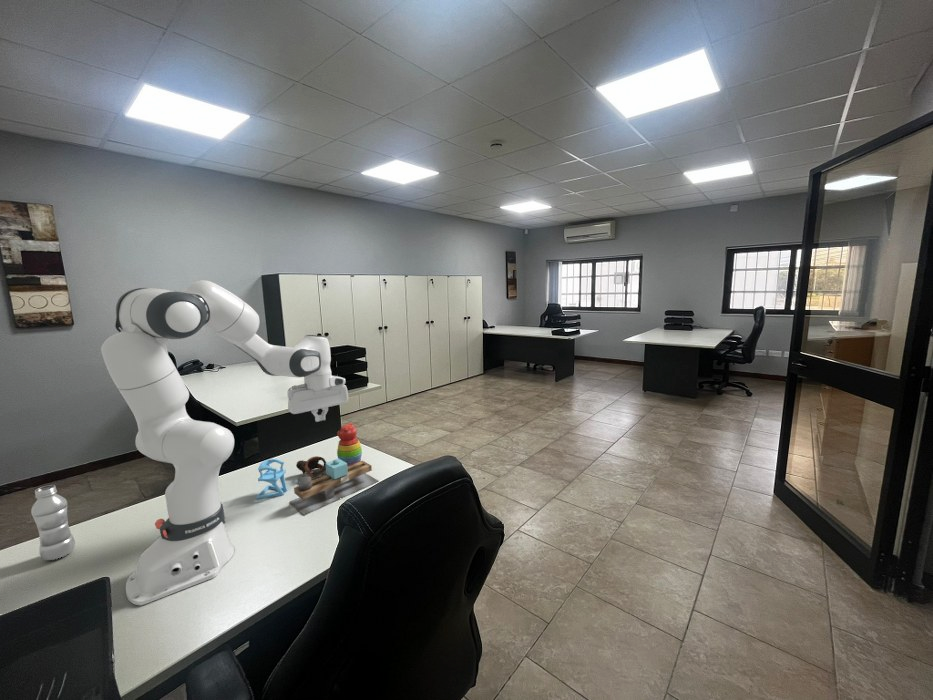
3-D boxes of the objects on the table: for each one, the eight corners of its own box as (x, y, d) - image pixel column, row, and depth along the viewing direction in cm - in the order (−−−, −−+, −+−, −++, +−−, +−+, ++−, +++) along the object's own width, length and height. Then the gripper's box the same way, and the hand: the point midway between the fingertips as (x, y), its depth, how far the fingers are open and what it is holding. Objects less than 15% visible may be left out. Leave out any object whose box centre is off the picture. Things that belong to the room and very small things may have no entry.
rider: (335, 485, 130) (333, 465, 129) (326, 479, 134) (325, 460, 133) (348, 479, 133) (347, 460, 132) (339, 474, 137) (338, 455, 136)
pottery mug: (330, 468, 152) (331, 455, 147) (322, 489, 145) (323, 476, 140) (299, 463, 151) (300, 450, 146) (290, 483, 143) (290, 470, 138)
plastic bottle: (50, 551, 105) (35, 485, 102) (82, 545, 108) (68, 480, 104) (35, 567, 99) (19, 497, 96) (69, 559, 102) (54, 491, 98)
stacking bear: (345, 460, 158) (342, 419, 155) (367, 462, 156) (364, 421, 153) (331, 472, 148) (327, 429, 145) (354, 474, 146) (351, 431, 143)
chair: (280, 499, 130) (277, 466, 128) (256, 499, 130) (252, 466, 128) (290, 487, 137) (288, 456, 135) (268, 487, 137) (265, 456, 135)
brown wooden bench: (303, 515, 120) (301, 489, 118) (289, 502, 127) (286, 477, 126) (378, 481, 140) (377, 458, 139) (362, 472, 147) (360, 450, 146)
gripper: (291, 388, 120) (293, 430, 122) (349, 378, 135) (351, 416, 137) (283, 385, 124) (285, 425, 126) (340, 376, 139) (342, 412, 141)
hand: (320, 420), depth 131 cm, fingers closed
